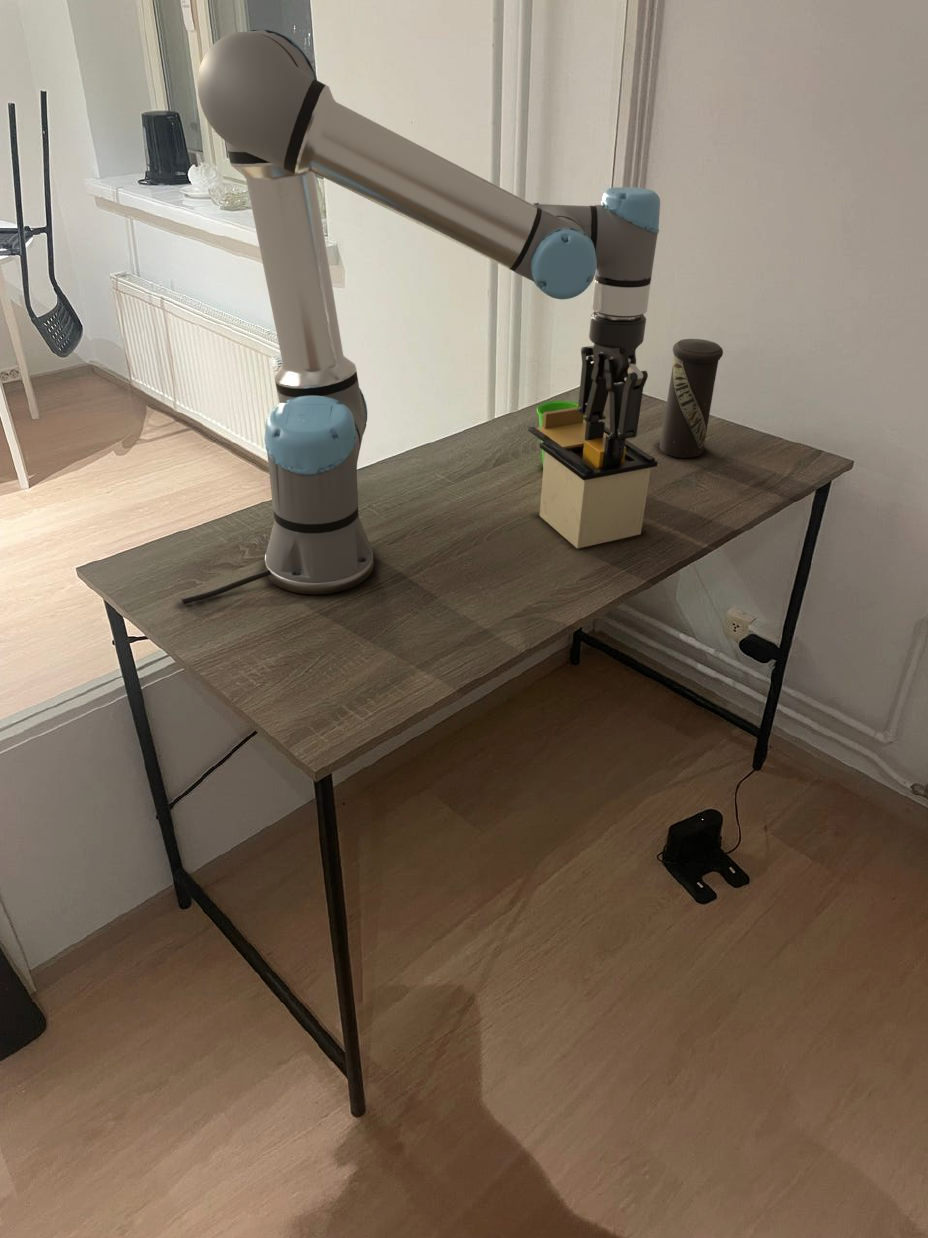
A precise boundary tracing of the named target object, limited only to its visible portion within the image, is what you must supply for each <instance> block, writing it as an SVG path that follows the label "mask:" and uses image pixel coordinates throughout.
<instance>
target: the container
mask: <svg viewBox="0 0 928 1238" xmlns="http://www.w3.org/2000/svg"><path fill="white" fill-rule="evenodd" d="M672 352H673V353H672V354H673V360H672V367H671V373H670V374H671V375H670V381H669V387H668V392H667V399H666V404H665V405H666V406H665V411H664V417H663V421H662V422H663V423H662V428H661V435H660V440H659V450H660V451H661V452H662V453H664V454H666V455H668V456H671V457H674V458H680V459H691V458H695V457H698V456H700V455H702V454H703V452H704V449H705V443H706V438H707V433H708V432H707V431H708V424H709V419H710V414H711V408H712V402H713V395H714V391H715V390H714V389H715V382H716V376H717V370H718V365H719V361H720V360H721V358H722V357H723V354H724V350H723V347H721V346H720V345H719V344H718V343H716V342H714V341H711V340H707V339H702V338H685V339H680V340H679V341H677V342H675V343H674V344H673V346H672Z"/></svg>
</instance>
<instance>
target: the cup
mask: <svg viewBox="0 0 928 1238" xmlns="http://www.w3.org/2000/svg"><path fill="white" fill-rule="evenodd" d="M578 404H579V402H578V403H577V402H574V401H568V400H552V401H546V402H544V403H541V404H539V405H538V406H537V408H536V413H537V414H538V422H539V427H542V423H543V412H549V411H555V410H561V409H568V408H574V407H578ZM583 420H584V418H583ZM542 442H543V441H542V440H540V443H542ZM544 455H545V451H544V450H543V449H541V457H542V458H541V459H542V467H544Z"/></svg>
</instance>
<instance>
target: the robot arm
mask: <svg viewBox="0 0 928 1238" xmlns="http://www.w3.org/2000/svg"><path fill="white" fill-rule="evenodd" d="M197 74H198V75H197V96H198V100H199V104H200V108H201V110H202V113H203V115H204V117H205V119H206V120H207V123H208V124H209V126H211V128H212V129H213V130H214V132H215V133H216V134H217V135H218V136H219V137H220V138H221V139H223V140H224V141H225V145H226V150H227V155H228V159H229V163H230V166H231V167H233V169H235V170H236V171H238V172H239V174H241V175H242V176H243V178H245V182H246V186H247V191H248V196H249V201H250V206H251V211H252V216H253V223H254V227H255V232H256V236H257V241H258V246H259V247H258V248H259V252H260V257H261V262H262V266H263V272H264V277H265V282H266V286H267V292H268V297H269V303H270V307H271V311H272V317H273V321H274V322H273V323H274V325H275V326H274V327H275V331H276V336H277V337H276V338H277V342H278V346H279V352H280V357H281V362H282V364H281V366H280V367H279V368H278V370H277V371H276V374H274V383H275V387H276V393H277V397H278V402H279V403H278V404H277V405H275V406H274V408H272V409H271V411H270V412H269V413H268V415H267V416H266V420H265V425H264V426H265V427H264V428H265V431H264V438H263V439H264V440H263V441H264V445H265V450H266V454H267V463H268V464H267V465H268V473H269V484H270V485H269V486H270V493H271V503H272V511H273V525H272V529H271V533H270V537H269V540H268V545H267V548H266V552H265V555H264V564H265V570H263V571H260V572H258V573H255V574H252V575H249V576H247V577H244V578H241V579H239V580H236V581H234V582H231V583H229V584H225V585H223V586H220V587H218V588H215V589H213V590H209V591H205V592H203V593H200V594H196V595H191V596H187V597H184V598H181V603H182V605H187V604H190V603H195V602H197V601H198V602H199V601H202V600H205V599H209V598H212V597H215V596H218V595H221V594H224V593H226V592H228V591H231V590H235V589H236V588H239V587H241V586H244V585H247V584H249V583H252V582H255V581H257V580H260V579H263V578H266V577H267V578H269V580H270V581H271V582H272V583H273V584H274V585H276V586H277V587H278V588H281V589H283V590H286V591H288V592H292V593H296V594H301V595H327V594H335V593H339V592H343V591H346V590H350V589H351V588H354V587H356V586H358V585H360V584H361V583H363V582H364V581H366V580H367V579H368V578H369V577H370V575H371V574H372V572H373V569H374V551H373V548H372V546H371V543H370V541H369V539H368V536H367V534H366V531H365V529H364V526H363V524H362V521H361V518H360V516H359V494H358V492H359V491H358V461H359V456H360V451H361V446H362V441H363V437H364V435H365V432H366V428H367V423H368V405H367V402H366V398H365V395H364V394H363V391H362V389H361V388H360V384H359V383H360V382H359V378H358V371H357V366H356V364H355V363H354V362H353V361H352V360H350V359H349V358H348V357H346V356H345V355H344V350H343V344H342V338H341V331H340V325H339V319H338V313H337V307H336V302H335V295H334V289H333V282H332V275H331V270H330V263H329V257H328V251H327V245H326V239H325V231H324V226H323V220H322V214H321V208H320V207H321V206H320V200H319V194H318V187H317V182H316V176H315V174H316V175H317V176H320V177H322V178H323V179H326V180H328V181H330V182H332V183H334V184H336V185H338V186H340V187H342V188H344V189H345V190H348V191H349V192H352V193H354V194H356V195H358V196H361V197H362V198H364V199H366V200H369V201H371V202H373V203H374V204H377V205H379V206H381V207H383V208H385V209H386V210H388V211H391V212H393V213H394V214H397V215H399V216H401V217H403V218H405V219H407V220H409V221H411V222H413V223H415V224H418V225H419V226H421V227H423V228H425V229H428V230H429V231H432V232H434V233H436V234H438V235H439V236H442V237H443V238H446V239H447V240H450V241H452V242H454V243H456V244H458V245H460V246H462V247H464V248H466V249H468V250H470V251H472V252H474V253H476V254H478V255H480V256H482V257H485V258H487V259H489V260H490V261H493V262H495V263H497V264H499V265H500V266H503V267H504V268H507V269H508V270H510V271H512V272H514V273H515V274H517V275H518V276H519V275H520V276H521V277H524V278H526V279H527V280H529V281H531V282H533V283H534V284H535V286H536V287H537V288H538V289H539V290H540V291H541V292H543V294H545V295H546V296H548V297H551V298H552V299H556V300H570V299H573V298H576V297H578V296H580V295H581V294H582V293H584V292H585V291H586V290H587V289H588V288H589V287H590V286H591V284H592V283H593V281H594V283H593V291H592V298H591V299H592V300H591V309H592V310H593V312H592V314H591V315H590V321H589V334H588V338H589V340H590V342H591V343H593V345H587V346H582V347H581V349H580V355H581V371H580V382H579V383H580V385H579V394H578V395H579V396H578V412H579V413H580V414H583V415H584V420H585V422H586V429H585V441H587V440H593V439H598V438H603V436H604V427H606V422H605V421H602V420H607V419H606V418H607V417H606V415H605V414H604V412H605V408H606V404H607V401H608V396H609V429H610V435H606V441H605V449H604V459H603V466H608V465H614V464H619V463H621V459H622V458H623V452H624V446H625V440H627V439H633V438H636V437H637V434H638V427H639V421H640V414H641V407H642V400H643V394H644V387H645V385H646V383H647V380H648V377H649V374H648V371H647V370H640V369H639V367H638V366H637V357H636V352H637V351H636V350H637V349H638V347H640V346H641V345H642V343H643V342H644V338H645V333H646V332H645V330H646V325H647V318H646V316H645V315H644V314H646V313H647V312H648V306H649V299H650V298H649V297H650V289H651V282H652V276H653V275H652V274H653V268H654V262H655V254H656V248H657V241H658V235H659V232H660V229H659V228H660V227H659V225H660V214H661V213H660V212H661V198H660V196H659V194H658V193H657V192H656V191H654V190H652V189H648V188H643V187H635V186H621V187H618V186H615V187H614V186H613V187H610V188H607V189H606V190H605V191H604V192H603V194H602V199H601V200H600V204H594V205H573V204H572V205H571V204H547V203H546V204H545V203H539V202H534V203H531V202H529V201H527V200H525V199H523V198H522V197H520V196H517V195H516V194H513V193H512V192H510V191H508V190H506V189H504V188H502V187H500V186H498V185H497V184H495V183H494V182H491V181H489V180H487V179H485V178H483V177H481V176H479V175H477V174H476V173H474V172H471V171H470V170H468V169H466V168H464V167H462V166H460V165H458V164H456V163H454V162H452V161H450V160H448V159H447V158H444V157H443V156H441V155H439V154H437V153H435V152H433V151H431V150H429V149H427V148H425V147H423V146H421V145H420V144H417V143H416V142H414V141H412V140H410V139H409V138H406V137H404V136H402V135H400V134H398V133H397V132H395V131H393V130H391V129H389V128H387V127H385V126H384V125H381V124H380V123H377V122H375V120H372V119H370V118H368V117H366V116H364V115H362V114H361V113H358V112H356V111H354V110H352V109H351V108H348V107H347V106H345V105H343V104H341V103H339V102H337V101H336V100H335V99H334V96H333V93H332V90H331V89H330V86H329V85H327V84H325V83H322V81H319V80H318V77H317V74H316V71H315V69H314V67H313V65H312V62H311V61H310V59H309V57H308V55H307V54H306V53H305V52H304V50H303V49H302V48H301V47H300V46H299V45H298V44H297V42H295V41H293V40H292V39H291V38H290V37H288V36H286V35H285V34H283V33H280V32H278V31H276V30H271V29H258V28H255V29H254V28H253V29H252V30H247V31H239V32H233V33H230V34H227V35H225V36H223V37H221V38H220V39H218V40H217V41H215V42H214V43H213V44H212V45H211V46H210V47H209V49H208V50H207V51H206V53H205V54H204V56H203V58H202V61H201V63H200V66H199V69H198V73H197Z"/></svg>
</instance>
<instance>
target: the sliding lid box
mask: <svg viewBox="0 0 928 1238" xmlns="http://www.w3.org/2000/svg"><path fill="white" fill-rule="evenodd" d="M537 428H538V427H535V426H529V427H528V430H527V431H528V432H529V433H530V434H532V435H533V436H534V437H536V438H537V439H539V440H540V441H541V440H542V441H543V442H542V443H541V442H539V449H541V450H542V449H543V450H544V451H545V455H544V467H543V466H542V467H543V469H542V480H541V481H542V482H541V493H540V506H539V517H540V518H541V519H542V520H544V522H546V523H547V524H548V525H549V526H551V527H552V528H553V529H554V530H555V531H556V532H558V533H559V534H560V535H561V536H562V537H563V538H564V539H565V540H567V541H568V542H569V543H570V544H571V545H572V546H573V547H575V548H576V549H582V548H586V547H591V546H595V545H599V544H603V543H608V542H609V543H610V542H613V541H618V540H622V539H626V538H630V537H635V536H639V535H642V529H643V522H644V517H645V509H646V502H647V495H648V491H649V490H648V489H649V483H650V478H651V471H652V470H651V469H652V468H655V467H658V460H656V458H655V457H654V456H652V455H651V454H649V453H647V452H645V451H644V450H643V449H641V448H640V447H638V446H636V445H635V444H633V443H632V442H630V441H629V440H627V439H626V440H625V447H626V451H625V460H624V463H619V464H614V465H608V466H603V467H598V468H594V467H593V466H591V465H590V464H589V463H587V462H586V461H585V460H583V449H584V446H579V447H573V448H568V449H564V448H563V447H561V446H560V445H559V444H557V443H556V442H555V441H553V440H552V439H550V438H549V437H548V436H546V435H545V434H544V433H542V432H541V431H539V430H538V429H537ZM604 433H606V434H608V435H610V427H607V426H605V427H604Z"/></svg>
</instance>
